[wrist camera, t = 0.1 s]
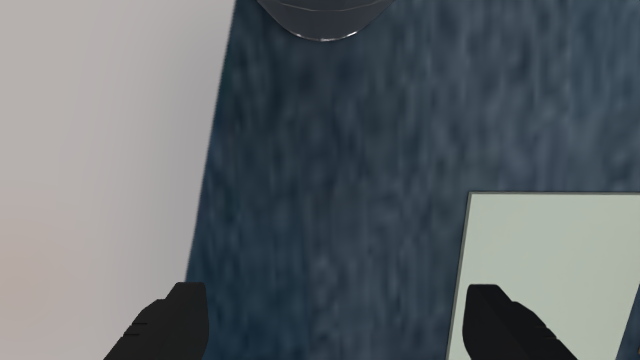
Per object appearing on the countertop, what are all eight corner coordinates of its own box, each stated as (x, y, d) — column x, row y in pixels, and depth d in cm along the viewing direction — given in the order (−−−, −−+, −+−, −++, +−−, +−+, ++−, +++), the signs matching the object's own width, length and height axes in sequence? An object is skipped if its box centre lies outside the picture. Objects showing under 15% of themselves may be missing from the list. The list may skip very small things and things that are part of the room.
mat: (468, 191, 28) (472, 194, 27) (660, 192, 28) (667, 195, 27) (442, 381, 34) (444, 386, 33) (601, 382, 34) (606, 387, 33)
